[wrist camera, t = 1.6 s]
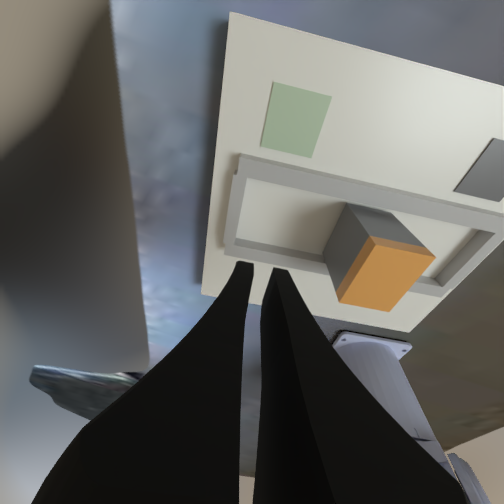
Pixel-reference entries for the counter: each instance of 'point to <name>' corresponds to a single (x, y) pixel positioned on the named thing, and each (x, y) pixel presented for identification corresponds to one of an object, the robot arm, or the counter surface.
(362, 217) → the knob
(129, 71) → the counter surface
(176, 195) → the counter surface
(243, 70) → the switch panel
